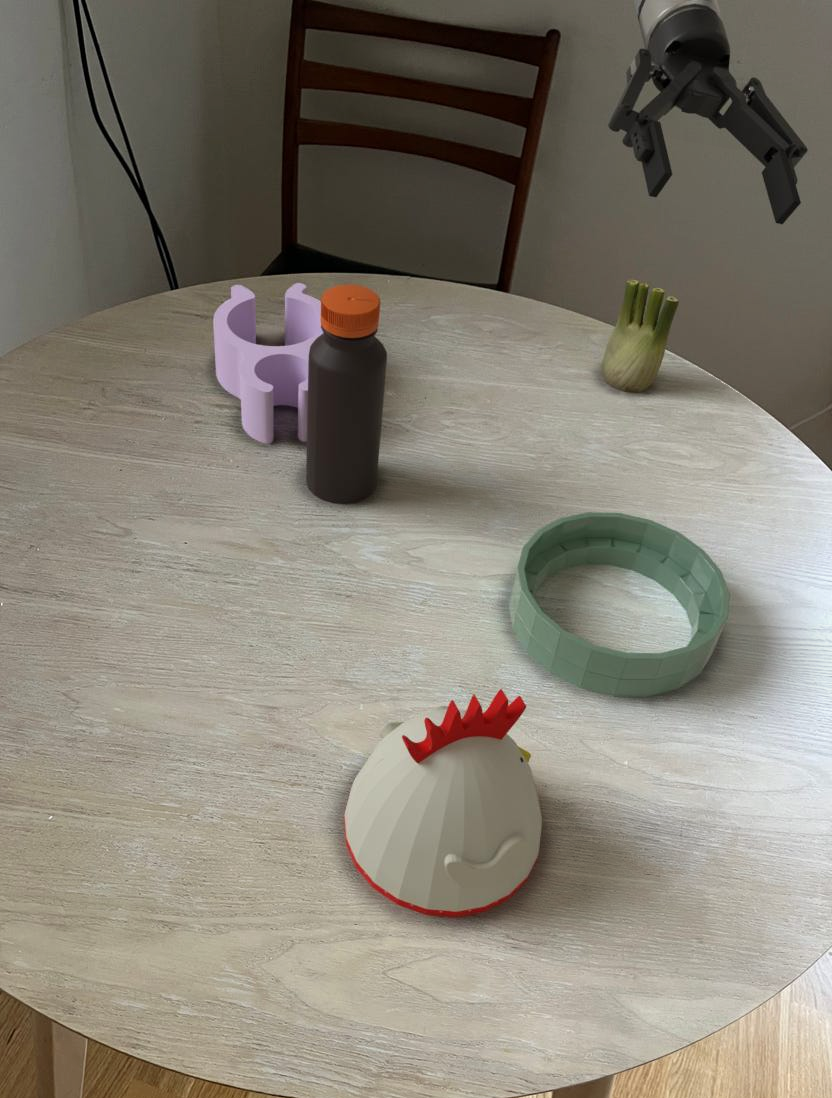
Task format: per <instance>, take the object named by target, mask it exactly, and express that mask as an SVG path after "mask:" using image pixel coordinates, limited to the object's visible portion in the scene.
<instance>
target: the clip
mask: <svg viewBox="0 0 832 1098" xmlns="http://www.w3.org/2000/svg"><path fill="white" fill-rule="evenodd" d="M256 318H257V317H256V295H255V293H254V291H252V290H250V289H249V288H247V287H245V286H243V285H241V284H234V285H232V286H231V287H230V298H229V299H227V300H225V301H224V302H223V303H221V304H220V305H219V306H218V307H217V309H216V310H215V312H214V315H213V320H212V322H213V323H212V324H213V341H214V343H213V344H214V360H215V362H214V363H215V375H216V378H217V381H218V383H219V384H220V385H221V387H222V388H223V389H224V390H225V391H226V392H228V393H229V394H231V395H232V396H234V397H236V398H238V399H239V400H240V410H241V411H240V413H241V427H242V428H243V430H244V432H245V433H246V434H247V436H249V437H251V438H252V439H254V440H255V441H258V442H259V443H262V444H265V445H266V444H267V445H268V444H269V445H270V444H272V443H273V441H274V439H275V438H274V436H275V435H274V406H290V407H295V408H297V438H298V440H299V441H300V442H302V443H307V409H308V360H309V350H310V346H311V345H312V343H313V342H314V341H315V340H316V339H317V338H318V337H319V336H320V335H322V334H323V331H322V329H321V322H320V321H321V300H319V299H317V298H315V297H313V296H311V295H309V294H307V285H306V284H304V283H302V282H296V283H294V284H292V285H291V286H290V287H288V289H287V290H286V291H285V293H284V345H279V346H277V345H273V346H272V345H263V344H257V322H256V321H257V320H256Z"/></svg>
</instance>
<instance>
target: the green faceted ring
mask: <svg viewBox="0 0 832 1098" xmlns="http://www.w3.org/2000/svg"><path fill="white" fill-rule="evenodd" d="M583 565H605V566H607V565H608V566H613V567H617V568H622V569H626V570H630V571H633V572H635V573H637V574H639V575H642V576H644V577H647V578H649V579H651V580H653V581H655V582H656V583H657V584H659V585H660V586H662V587H663V588H664V589H665V590H666V591H668V592H669V593H671V594H672V595H673V596H674V598H675V599H676V601H678V603H679V604H680V605H681V607H682V608H683V610H684V611H685V612H686V615H687V618H688V621H689V624H690V626H691V634H690V635H691V637H690V641H689V642H688V643H687V645H686V646H683V647H679V648H674V649H671V650H667V651H663V652H625V651H622V650H617V649H613V648H609V647H605V646H601V645H596V644H594V643H592V642H590V641H588V640H585V639H584V638H581V637H579V636H577V635H575V634H573V633H571V632H569V631H567V630H565V629H564V628H563V627H561V625H559V624H558V623H557V622H556V621H555V620H554V619H552V618H551V616H549V615H547V614H546V613H545V612H544V611H543V610H542V609H541V606H540V605H539V604H538V602H537V599H536V595H535V592H536V591H537V590H538V589H539V587H540V586H541V585H542V584H543V583H544V582H545V580H546V579H548V578H549V577H552V576H553V575H555V574H557V573H558V572H561V571H562V570H565V569H570V568H573V567H577V566H578V567H579V566H583ZM730 597H731V593H730V591H729V587H728V584H727V583H726V581H725V577H724V575H723V572H722V570H721V568H720V567H718V565H717V564H716V563H715V562H714V560H713V559H712V558H711V557H710V555H708V553H707V551H705V550H704V548H702V547H701V546H699V545H698V544H696V543H695V542H693V540H690V539H689V538H688V537H687V536H685V535H683V533H681V532H679V531H677V530H676V529H675V530H674V529H673V528H670V527H668V526H666V525H663V524H661V523H659V522H656V521H654V520H652V519H649V518H644V517H639V516H635V515H631V514H626V513H622V512H597V511H596V512H595V511H593V512H592V511H588V512H583V513H577V514H572V515H567V516H564V517H560V518H558V519H556V520H554V521H552V522H550V523H548V524H546V525H545V526H542V527H541V528H539V529H537V531H536V532H534V534H533V535H532V536H531V537H530V539H529V540H528V541H526V543H525V544H524V545H523V546H522V549H521V552H520V557H519V559H518V563H517V567H516V572H515V576H514V580H513V585H512V589H511V594H510V598H509V603H508V610H509V615H510V622H511V628H512V630H513V632H514V634H515V636H516V637H517V639H518V640H519V642H520V644H521V646H522V647H523V648H524V650H525V652H526V653H527V654H528V655H530V657H531V658H532V659H534V661H536V662H537V663H539V664H540V665H541V666H542V667H543V668H544V669H545V670H547V671H548V672H549V673H550V674H552V675H554V676H556V677H558V678H560V679H561V680H564V681H565V682H567V683H569V684H572V685H573V686H576V687H578V688H579V689H580V688H581V689H583V690H587V691H591V692H595V693H599V694H603V695H607V696H611V697H618V698H619V697H625V698H626V697H627V698H629V697H631V698H633V697H634V698H635V697H636V698H639V697H640V698H648V697H649V698H650V697H653V696H656V695H661V694H664V693H667V692H671V691H672V692H673V691H676V690H678V689H680V688H681V687H683V686H685V685H686V684H687V683H689V682H690V681H692V680H694V679H695V678H696V677H698V676H699V675H700V674H701V673H702V671H703V669H704V668H705V666H706V665H707V663H708V661H709V660H710V658H711V657H712V655H713V653H714V650H715V648H716V646H717V644H718V641H719V640H720V639H719V638H720V637H721V634H722V631H723V629H724V627H725V626H726V623H727V620H728V619H729V611H730V599H731V598H730Z"/></svg>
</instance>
